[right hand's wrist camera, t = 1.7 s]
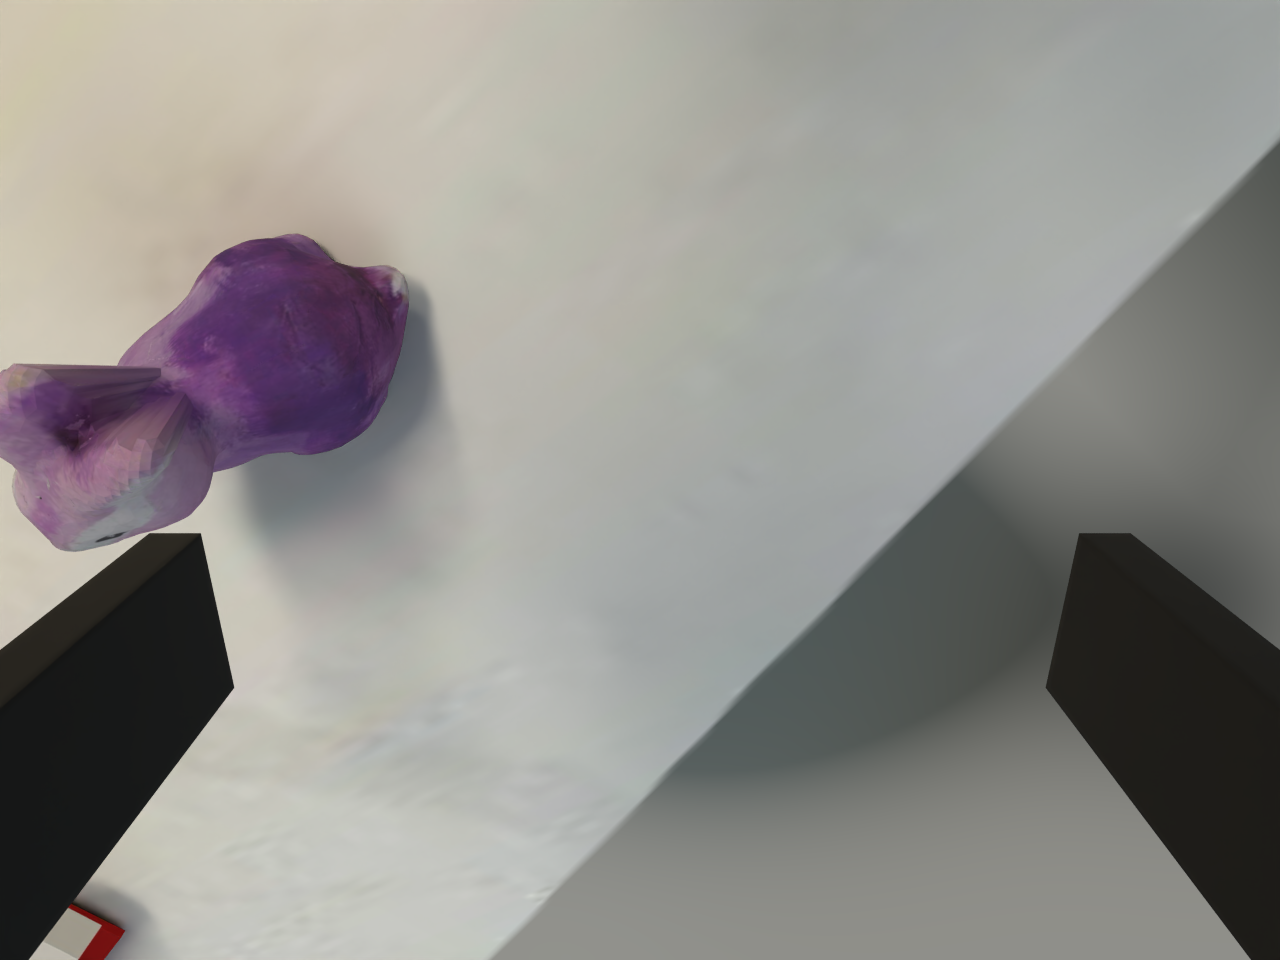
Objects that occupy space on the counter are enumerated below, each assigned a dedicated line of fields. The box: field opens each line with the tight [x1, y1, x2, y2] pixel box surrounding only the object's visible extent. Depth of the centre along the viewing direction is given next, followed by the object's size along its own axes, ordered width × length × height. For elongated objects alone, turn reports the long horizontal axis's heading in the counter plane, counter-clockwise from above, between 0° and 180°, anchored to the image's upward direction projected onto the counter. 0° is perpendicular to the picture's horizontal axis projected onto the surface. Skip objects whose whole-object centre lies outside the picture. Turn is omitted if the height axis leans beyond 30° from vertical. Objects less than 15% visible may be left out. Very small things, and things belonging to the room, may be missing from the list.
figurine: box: [0, 234, 409, 552], centre depth 28 cm, size 9×10×15 cm
